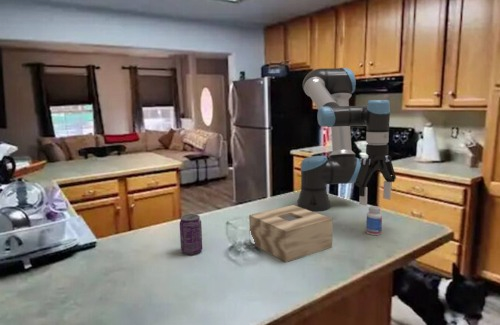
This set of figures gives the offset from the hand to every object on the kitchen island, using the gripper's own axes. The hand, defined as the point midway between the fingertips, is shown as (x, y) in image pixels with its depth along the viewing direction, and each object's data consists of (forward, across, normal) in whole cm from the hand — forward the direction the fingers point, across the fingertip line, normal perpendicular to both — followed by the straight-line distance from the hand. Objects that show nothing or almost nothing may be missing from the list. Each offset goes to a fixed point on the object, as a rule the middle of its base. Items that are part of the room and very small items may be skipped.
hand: (375, 201), depth 131 cm
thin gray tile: (+4, -32, +10) cm, 34 cm away
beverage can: (+12, -62, +26) cm, 68 cm away
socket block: (+12, -32, +10) cm, 36 cm away
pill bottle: (+12, 0, 0) cm, 12 cm away
